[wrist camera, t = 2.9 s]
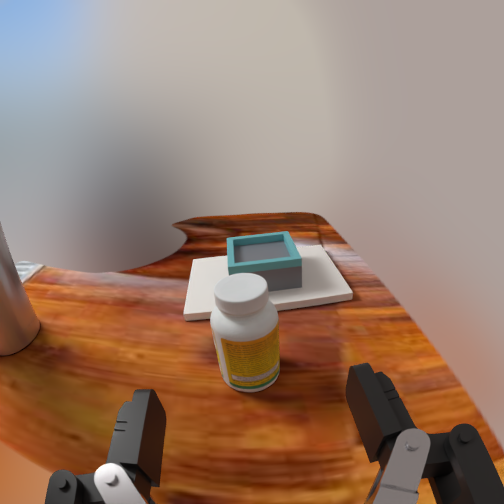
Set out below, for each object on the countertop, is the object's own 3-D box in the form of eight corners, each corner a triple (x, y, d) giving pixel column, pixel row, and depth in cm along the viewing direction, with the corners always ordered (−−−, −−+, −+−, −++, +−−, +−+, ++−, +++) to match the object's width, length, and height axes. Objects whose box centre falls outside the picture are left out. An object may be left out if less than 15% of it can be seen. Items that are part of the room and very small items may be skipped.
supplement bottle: (211, 370, 27) (190, 285, 23) (255, 345, 30) (246, 261, 26) (246, 404, 23) (231, 317, 19) (292, 372, 26) (291, 284, 22)
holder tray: (185, 320, 34) (176, 284, 32) (194, 265, 47) (189, 235, 45) (352, 299, 35) (355, 263, 33) (320, 250, 48) (320, 220, 45)
